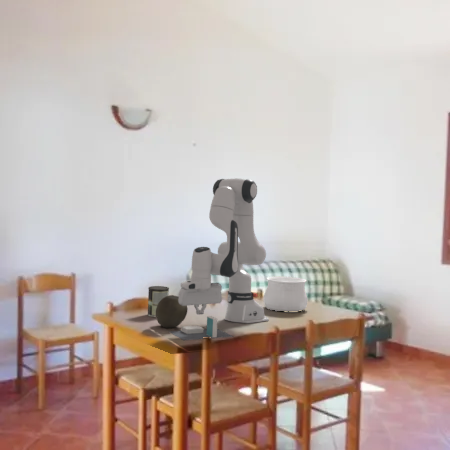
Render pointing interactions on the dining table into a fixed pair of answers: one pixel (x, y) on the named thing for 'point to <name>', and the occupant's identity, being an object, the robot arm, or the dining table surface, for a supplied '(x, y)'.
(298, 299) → the pot
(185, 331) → the tile
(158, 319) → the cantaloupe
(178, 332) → the mat
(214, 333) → the tile
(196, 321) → the dining table surface
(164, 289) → the coffee can
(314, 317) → the dining table surface
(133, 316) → the dining table surface
